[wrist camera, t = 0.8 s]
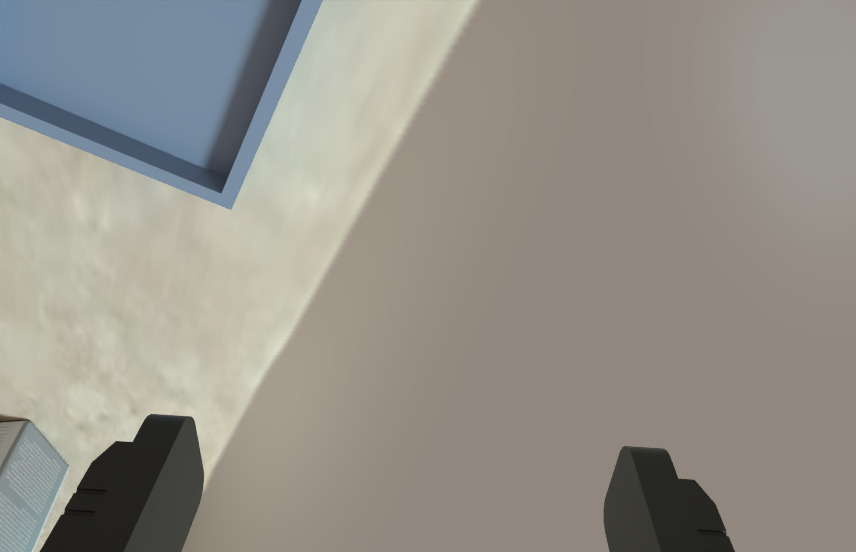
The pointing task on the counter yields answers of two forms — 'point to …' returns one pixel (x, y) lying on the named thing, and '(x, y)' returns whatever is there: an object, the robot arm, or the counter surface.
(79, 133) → the tray
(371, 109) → the counter surface
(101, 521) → the robot arm
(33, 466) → the hard drive box
